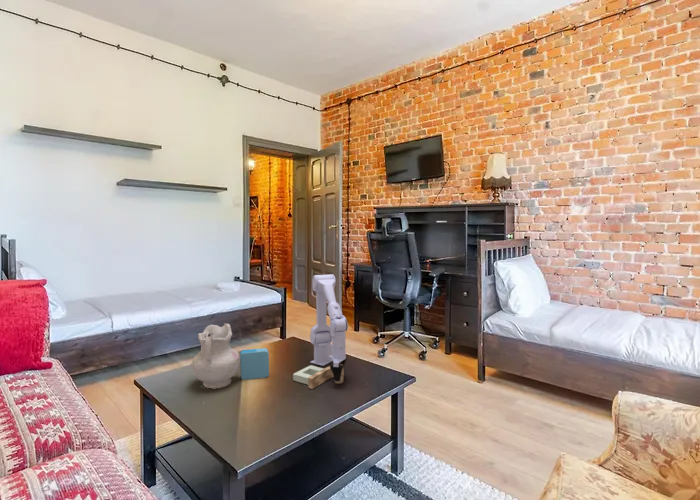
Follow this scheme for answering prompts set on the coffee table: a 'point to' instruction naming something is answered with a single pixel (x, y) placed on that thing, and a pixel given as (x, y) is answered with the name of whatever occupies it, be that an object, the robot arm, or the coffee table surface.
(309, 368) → the socket block
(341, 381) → the birch dowel
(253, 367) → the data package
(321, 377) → the oak wall
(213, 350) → the ceramic pitcher
